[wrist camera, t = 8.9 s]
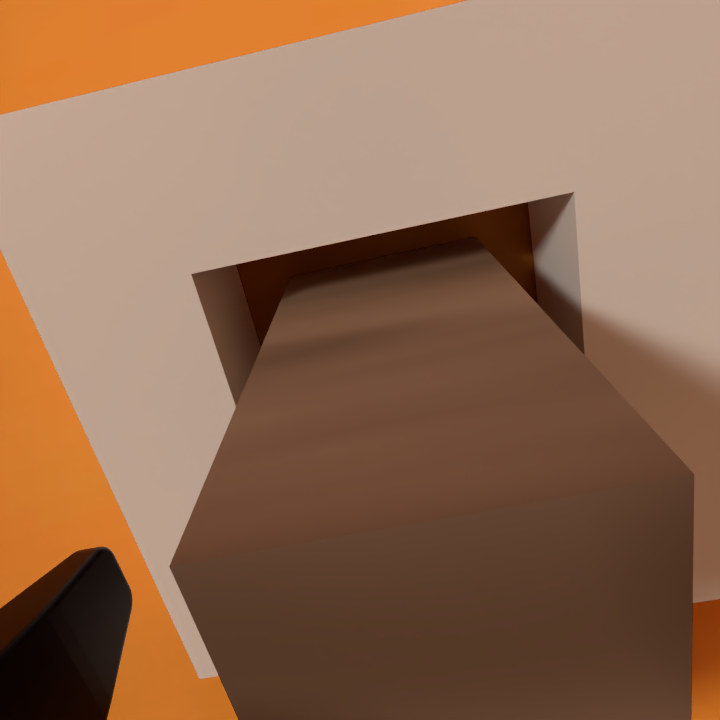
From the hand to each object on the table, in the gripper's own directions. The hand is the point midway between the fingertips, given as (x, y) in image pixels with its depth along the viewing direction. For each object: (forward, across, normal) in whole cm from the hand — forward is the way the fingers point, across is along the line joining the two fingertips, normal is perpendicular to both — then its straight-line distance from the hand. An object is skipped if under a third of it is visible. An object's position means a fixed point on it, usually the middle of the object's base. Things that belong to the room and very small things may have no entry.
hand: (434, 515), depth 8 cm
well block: (+6, 0, 0) cm, 6 cm away
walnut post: (+6, 0, 0) cm, 6 cm away
